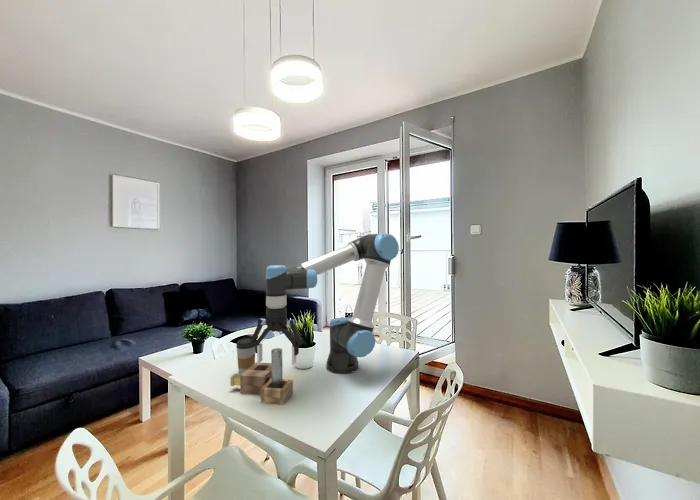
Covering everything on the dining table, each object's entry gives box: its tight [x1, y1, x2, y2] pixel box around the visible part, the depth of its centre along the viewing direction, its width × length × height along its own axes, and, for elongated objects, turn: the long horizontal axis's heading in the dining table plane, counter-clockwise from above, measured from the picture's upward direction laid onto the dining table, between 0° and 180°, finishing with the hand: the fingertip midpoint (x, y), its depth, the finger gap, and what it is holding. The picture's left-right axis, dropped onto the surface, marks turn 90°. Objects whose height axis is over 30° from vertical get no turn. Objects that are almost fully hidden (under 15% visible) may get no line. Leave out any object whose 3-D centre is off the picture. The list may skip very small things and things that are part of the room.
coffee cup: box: [236, 337, 256, 375], centre depth 132 cm, size 8×8×15 cm
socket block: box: [239, 362, 272, 396], centre depth 120 cm, size 10×13×7 cm
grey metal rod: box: [270, 347, 284, 389], centre depth 111 cm, size 4×4×18 cm
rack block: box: [260, 378, 294, 405], centre depth 111 cm, size 9×9×5 cm
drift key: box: [229, 373, 266, 387], centre depth 117 cm, size 13×3×3 cm, turn 81°
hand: (276, 362), depth 111 cm, fingers open, 13 cm apart
